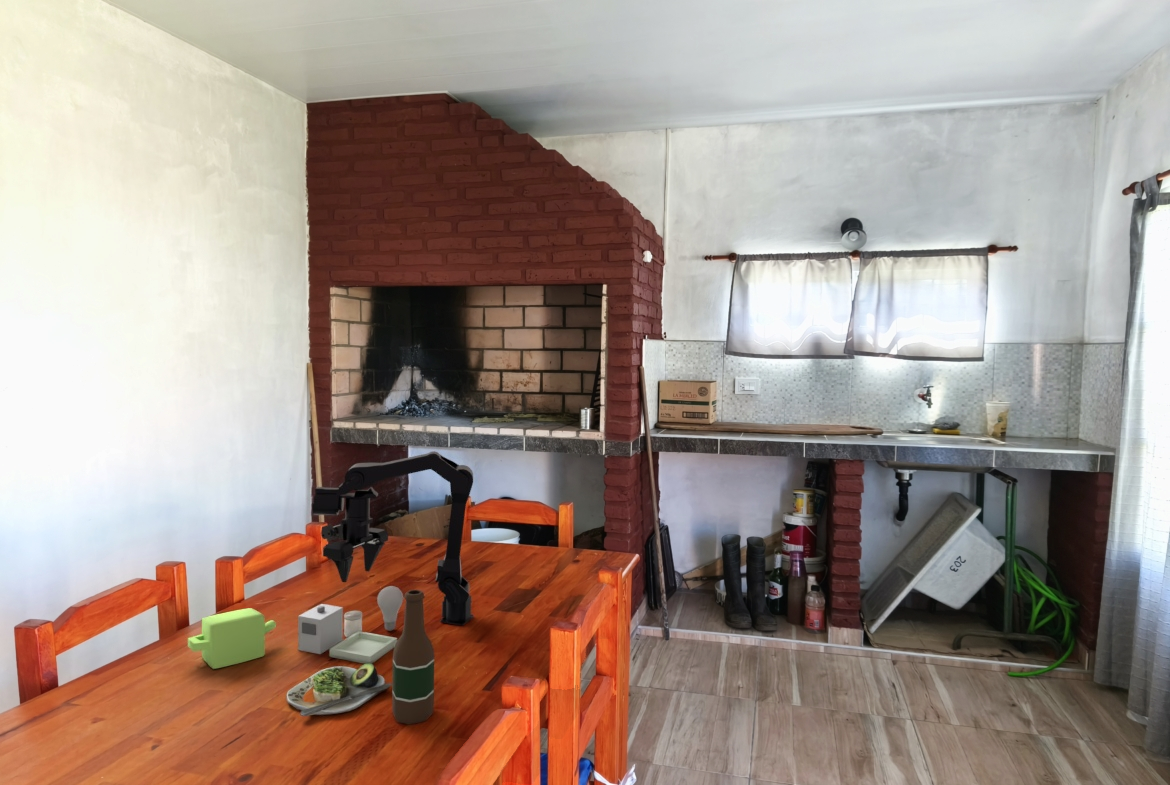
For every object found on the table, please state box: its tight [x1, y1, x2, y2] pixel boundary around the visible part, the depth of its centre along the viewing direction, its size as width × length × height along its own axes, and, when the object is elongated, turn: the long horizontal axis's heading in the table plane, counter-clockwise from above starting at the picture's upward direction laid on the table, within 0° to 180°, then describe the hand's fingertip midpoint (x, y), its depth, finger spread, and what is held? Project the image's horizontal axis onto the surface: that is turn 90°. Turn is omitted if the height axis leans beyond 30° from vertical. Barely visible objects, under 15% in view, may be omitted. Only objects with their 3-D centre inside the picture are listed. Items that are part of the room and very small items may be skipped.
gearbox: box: [187, 607, 277, 670], centre depth 158 cm, size 18×10×10 cm, turn 134°
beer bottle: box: [391, 589, 435, 726], centre depth 134 cm, size 8×8×24 cm
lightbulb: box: [376, 585, 404, 632], centre depth 173 cm, size 6×6×11 cm
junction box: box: [297, 603, 344, 655], centre depth 164 cm, size 6×9×9 cm
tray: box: [329, 631, 398, 665], centre depth 162 cm, size 11×11×2 cm
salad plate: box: [285, 663, 393, 717], centre depth 141 cm, size 19×18×5 cm
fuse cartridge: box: [343, 610, 363, 638], centre depth 171 cm, size 4×4×5 cm
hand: (356, 576), depth 176 cm, fingers open, 9 cm apart
